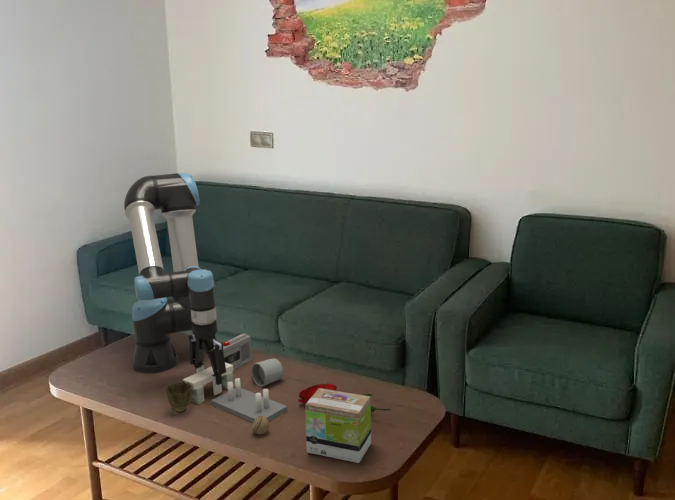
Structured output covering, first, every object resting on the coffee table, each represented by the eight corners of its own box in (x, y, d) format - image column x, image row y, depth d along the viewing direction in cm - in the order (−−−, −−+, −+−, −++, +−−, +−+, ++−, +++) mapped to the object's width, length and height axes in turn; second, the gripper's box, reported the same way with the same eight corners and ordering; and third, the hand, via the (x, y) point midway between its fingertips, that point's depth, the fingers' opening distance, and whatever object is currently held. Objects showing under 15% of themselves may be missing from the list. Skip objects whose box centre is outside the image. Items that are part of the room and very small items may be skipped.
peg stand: (211, 404, 210) (209, 383, 208) (238, 391, 218) (237, 370, 216) (260, 426, 197) (259, 403, 195) (287, 410, 205) (286, 389, 203)
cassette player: (219, 377, 228) (217, 349, 226) (213, 375, 230) (211, 347, 227) (251, 360, 240) (250, 333, 238) (246, 358, 242) (244, 331, 239)
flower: (393, 383, 195) (299, 374, 208) (383, 411, 189) (287, 400, 202) (400, 403, 201) (309, 392, 214) (391, 431, 195) (298, 418, 208)
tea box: (305, 454, 182) (303, 403, 178) (320, 435, 191) (318, 386, 187) (360, 464, 177) (358, 412, 173) (372, 444, 186) (371, 394, 182)
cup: (171, 419, 202) (169, 394, 200) (165, 408, 208) (162, 384, 206) (196, 413, 205) (194, 388, 203) (189, 402, 211) (187, 378, 209)
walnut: (260, 426, 197) (259, 410, 195) (273, 432, 194) (272, 415, 192) (247, 434, 193) (246, 417, 192) (260, 439, 190) (259, 423, 189)
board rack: (185, 398, 214) (184, 383, 213) (221, 381, 225) (220, 367, 223) (198, 404, 210) (196, 389, 209) (233, 386, 221) (232, 372, 220)
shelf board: (193, 389, 209) (193, 383, 208) (183, 385, 212) (182, 379, 211) (233, 371, 221) (233, 365, 220) (222, 367, 224) (222, 361, 223)
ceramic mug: (285, 381, 224) (284, 359, 222) (265, 389, 218) (264, 367, 216) (265, 372, 231) (264, 350, 229) (245, 380, 226) (243, 358, 224)
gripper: (173, 317, 214) (180, 385, 221) (216, 331, 202) (221, 403, 208) (192, 310, 220) (198, 377, 226) (235, 324, 208) (240, 394, 214)
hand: (209, 389), depth 217 cm, fingers open, 7 cm apart
